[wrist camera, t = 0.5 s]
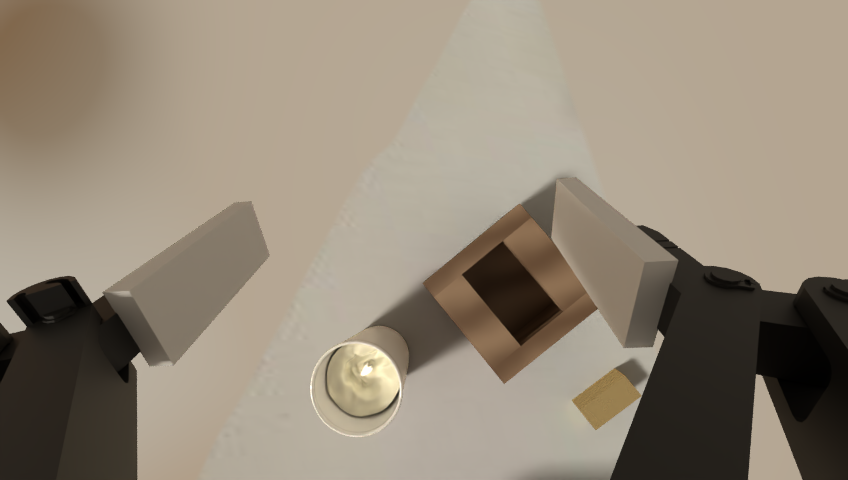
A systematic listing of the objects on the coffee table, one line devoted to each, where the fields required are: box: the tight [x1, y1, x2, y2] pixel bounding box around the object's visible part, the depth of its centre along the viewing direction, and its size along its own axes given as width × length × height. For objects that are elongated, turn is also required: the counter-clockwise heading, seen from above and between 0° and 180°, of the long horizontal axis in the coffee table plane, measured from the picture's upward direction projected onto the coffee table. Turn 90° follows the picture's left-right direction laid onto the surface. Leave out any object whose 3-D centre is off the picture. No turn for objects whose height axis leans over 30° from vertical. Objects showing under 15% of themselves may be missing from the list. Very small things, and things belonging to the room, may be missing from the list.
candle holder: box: [310, 326, 409, 437], centre depth 41 cm, size 10×10×12 cm
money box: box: [423, 204, 598, 384], centre depth 42 cm, size 14×14×9 cm
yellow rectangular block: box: [572, 368, 641, 430], centre depth 43 cm, size 3×7×3 cm, turn 128°
